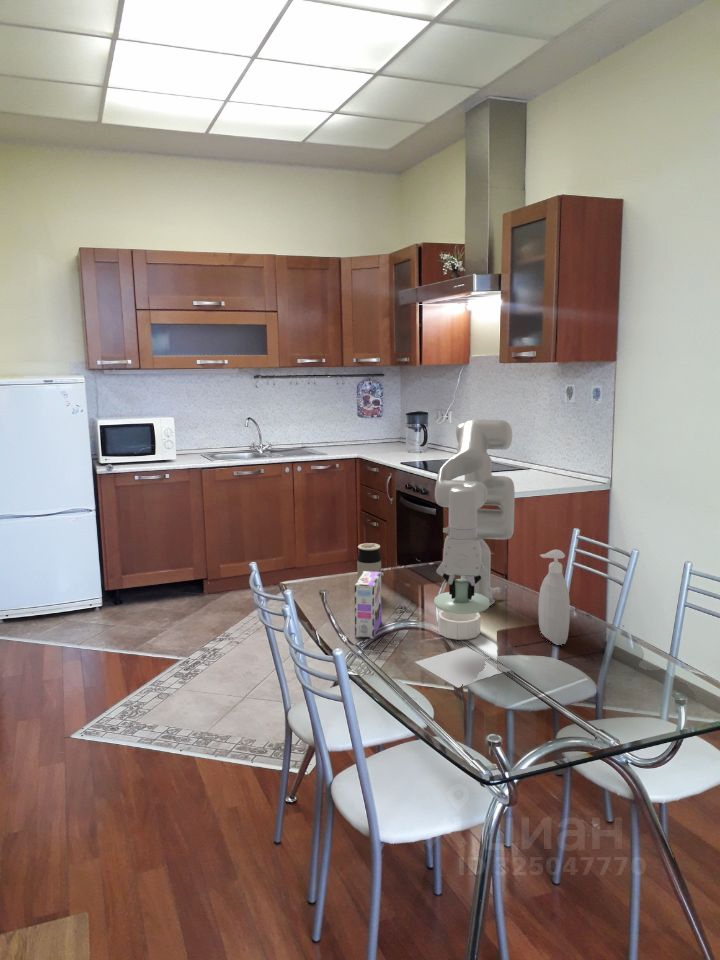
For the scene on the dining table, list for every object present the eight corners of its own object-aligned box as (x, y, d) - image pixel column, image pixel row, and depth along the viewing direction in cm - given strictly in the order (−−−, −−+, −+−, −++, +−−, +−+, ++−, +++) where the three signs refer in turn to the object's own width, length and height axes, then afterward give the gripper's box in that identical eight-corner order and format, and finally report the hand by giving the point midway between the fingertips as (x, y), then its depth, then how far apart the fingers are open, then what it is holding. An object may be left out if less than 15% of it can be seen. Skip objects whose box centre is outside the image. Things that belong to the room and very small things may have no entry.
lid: (464, 590, 211) (464, 568, 210) (501, 605, 199) (501, 583, 198) (423, 601, 203) (423, 579, 202) (458, 618, 191) (458, 594, 190)
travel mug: (353, 598, 249) (352, 547, 246) (365, 591, 256) (365, 541, 252) (373, 602, 245) (373, 550, 242) (385, 595, 252) (385, 544, 248)
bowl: (461, 624, 226) (461, 604, 225) (488, 636, 216) (488, 616, 215) (430, 632, 219) (430, 612, 218) (456, 646, 209) (456, 625, 208)
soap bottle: (526, 632, 219) (528, 544, 214) (551, 629, 220) (554, 542, 215) (549, 652, 205) (553, 558, 200) (576, 648, 207) (580, 555, 202)
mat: (465, 648, 207) (465, 646, 207) (511, 672, 192) (511, 670, 192) (414, 664, 198) (414, 662, 198) (457, 689, 183) (457, 687, 183)
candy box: (374, 639, 215) (373, 585, 212) (354, 638, 216) (353, 584, 213) (382, 622, 228) (382, 571, 225) (363, 620, 229) (363, 570, 226)
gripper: (429, 535, 196) (429, 600, 199) (493, 537, 192) (492, 604, 196) (433, 527, 203) (432, 591, 206) (494, 530, 199) (493, 594, 203)
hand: (461, 596), depth 201 cm, fingers closed on lid, 4 cm apart
